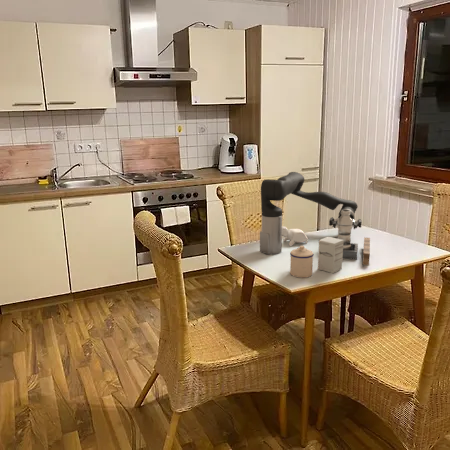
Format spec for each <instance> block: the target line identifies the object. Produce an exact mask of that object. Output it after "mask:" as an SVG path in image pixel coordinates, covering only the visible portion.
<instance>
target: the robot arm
mask: <svg viewBox="0 0 450 450" xmlns="http://www.w3.org/2000/svg"><path fill="white" fill-rule="evenodd" d="M304 183H305V177H304V174H301V173H299V172H296V171H291V172H289V173H288V174H286V175H284V176H283V175H282V176H281V177H279V178H277V179H263V180H262V182H261V185H260V201H261V202H260V205H261V230H259V252H261V253H263V254H265V255H278V254H280V253H282V251H283V250H282V248H283V247H282V246H283V245H282V243H283V241H282V239H283V236H282V226H283V210H282V208H281V207H279V206H276V205H275V204H273V203H272V201H275V202H276V201H278V202H279V201H283V200H285V198H286V197H287V196H288V195H290V194H291V195H295V197H296V196H297V197H298V198H299V197H300V198H302V199H305V200H307V201H311V202H313V203H316V204H318V205H321V206H323V207H325V208H327V209H329V210H331V211H335V210H336V209H337V208H338V206H339V205H342V206H341V208H340V210H339V213H338V217H337V218H336V219H335V218H334V217H330V219H329V223H328V225H329V226H330V227H331V226H332V227H333V228H334V229H336V227H338V225H337V221H338V219H339V218H340V217H341V216H342V215H341V211H342V210H350V215H349V216H350V218H351V219H352V222H353V224H352V228H353V230H356V229H357V228H362V218H358V219H357V220H356V219H355V213H356V211H357V209H358V204H357V202H356V201H354V200H352V199H351V200H350V199H345V198H340V197H337V196H335V195H333V194H330V193H329V192H325V191H314V192H311V191H310V192H307V191H306V192H305V191H302V190H301V189H302V187H303V185H304Z"/></svg>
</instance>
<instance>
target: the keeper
mask: <svg viewBox="0 0 450 450" xmlns="http://www.w3.org/2000/svg"><path fill="white" fill-rule="evenodd" d="M358 249H359V243H356V242H355V243H353V242H351V251H350V250H343V258H342V259H345V260H358V259H357V258H358Z"/></svg>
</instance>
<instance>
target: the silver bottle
mask: <svg viewBox="0 0 450 450" xmlns="http://www.w3.org/2000/svg"><path fill="white" fill-rule="evenodd" d="M341 215H342V216H341V217H340V218H339V219H338V221H337V225H338V226H337V239H341V240H344V242H343V250H350V251H351V243H352V242H351V241H352V240H351V236H352V235H351V234H352V228H353V227H352V224H353V222H352V219H351V218H350V216H349V215H350V210H342V211H341Z"/></svg>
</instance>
